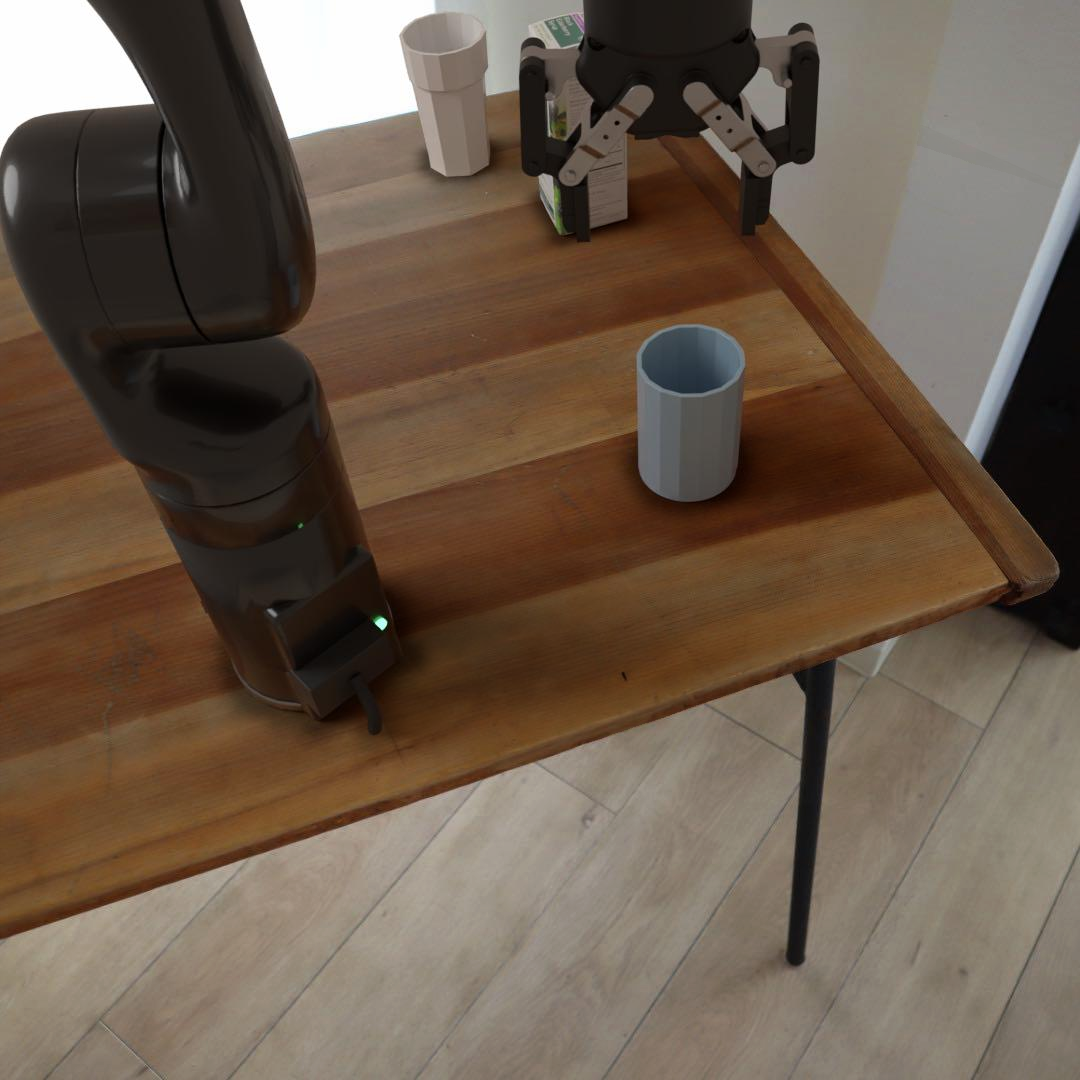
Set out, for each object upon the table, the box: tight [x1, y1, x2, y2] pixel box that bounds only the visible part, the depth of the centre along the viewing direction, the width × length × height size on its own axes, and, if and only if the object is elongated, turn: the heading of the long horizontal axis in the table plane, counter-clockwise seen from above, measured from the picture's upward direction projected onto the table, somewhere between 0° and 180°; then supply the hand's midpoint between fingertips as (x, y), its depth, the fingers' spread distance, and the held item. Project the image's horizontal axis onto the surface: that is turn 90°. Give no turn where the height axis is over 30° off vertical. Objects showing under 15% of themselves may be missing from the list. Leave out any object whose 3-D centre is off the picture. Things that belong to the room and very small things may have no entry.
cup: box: [398, 10, 491, 178], centre depth 94 cm, size 7×7×11 cm
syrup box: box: [528, 11, 629, 236], centre depth 87 cm, size 6×6×14 cm
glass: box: [636, 323, 747, 503], centre depth 71 cm, size 6×6×9 cm
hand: (664, 229), depth 62 cm, fingers open, 8 cm apart
